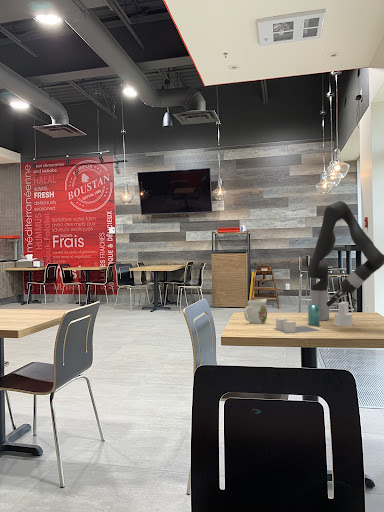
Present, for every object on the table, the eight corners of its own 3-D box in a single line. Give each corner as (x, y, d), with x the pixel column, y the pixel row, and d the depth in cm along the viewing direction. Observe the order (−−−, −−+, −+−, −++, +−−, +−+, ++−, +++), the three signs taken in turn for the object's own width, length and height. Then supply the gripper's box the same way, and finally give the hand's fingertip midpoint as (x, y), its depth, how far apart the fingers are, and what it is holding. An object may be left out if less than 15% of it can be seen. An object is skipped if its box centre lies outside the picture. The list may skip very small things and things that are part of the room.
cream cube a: (291, 330, 208) (291, 320, 208) (295, 332, 204) (295, 321, 204) (284, 331, 206) (283, 321, 206) (288, 332, 203) (288, 322, 202)
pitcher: (237, 326, 231) (237, 301, 231) (259, 322, 243) (258, 298, 242) (252, 328, 223) (252, 302, 222) (274, 324, 234) (274, 299, 234)
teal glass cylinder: (315, 326, 226) (315, 304, 225) (321, 328, 220) (321, 305, 220) (306, 327, 224) (306, 304, 224) (312, 329, 219) (312, 306, 218)
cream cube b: (282, 328, 215) (282, 318, 215) (287, 329, 211) (286, 319, 211) (275, 328, 214) (275, 318, 214) (279, 330, 210) (279, 319, 210)
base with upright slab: (337, 322, 236) (337, 301, 236) (354, 324, 231) (354, 302, 231) (332, 325, 229) (332, 303, 229) (349, 326, 224) (349, 304, 224)
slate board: (304, 328, 220) (304, 325, 220) (321, 333, 207) (321, 330, 207) (272, 331, 214) (272, 328, 214) (286, 336, 201) (286, 333, 201)
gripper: (348, 276, 221) (325, 297, 226) (344, 278, 208) (321, 300, 213) (359, 286, 218) (336, 307, 224) (356, 289, 206) (332, 311, 211)
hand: (328, 304), depth 218 cm, fingers open, 8 cm apart
